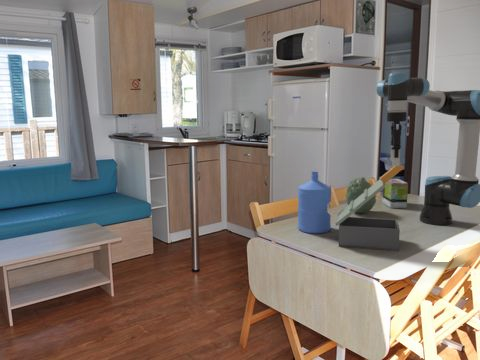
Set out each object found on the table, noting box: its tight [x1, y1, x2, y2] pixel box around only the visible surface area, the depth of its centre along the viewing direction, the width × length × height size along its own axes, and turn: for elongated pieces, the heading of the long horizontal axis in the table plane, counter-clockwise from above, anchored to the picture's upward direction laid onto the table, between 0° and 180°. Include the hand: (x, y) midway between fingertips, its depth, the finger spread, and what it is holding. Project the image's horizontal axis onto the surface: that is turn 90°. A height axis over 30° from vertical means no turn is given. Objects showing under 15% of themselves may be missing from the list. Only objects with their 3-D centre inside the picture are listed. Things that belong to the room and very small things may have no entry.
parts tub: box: [338, 216, 401, 252], centre depth 185 cm, size 24×16×9 cm, turn 74°
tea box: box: [381, 178, 409, 209], centre depth 251 cm, size 15×10×15 cm, turn 179°
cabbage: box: [345, 176, 377, 214], centre depth 234 cm, size 16×19×20 cm
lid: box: [335, 163, 405, 226], centre depth 182 cm, size 36×17×3 cm
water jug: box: [297, 171, 332, 234], centre depth 204 cm, size 16×16×28 cm
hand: (394, 163), depth 177 cm, fingers open, 13 cm apart
